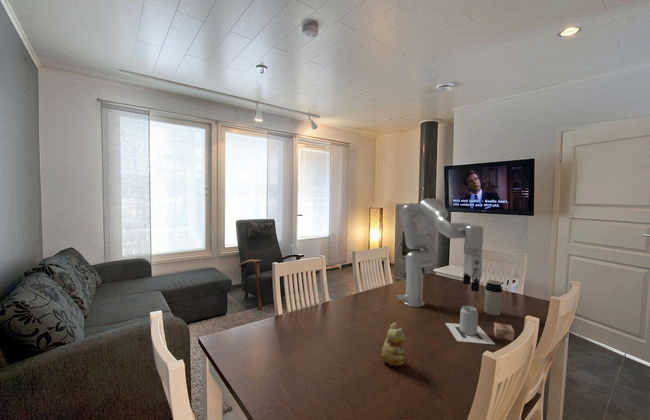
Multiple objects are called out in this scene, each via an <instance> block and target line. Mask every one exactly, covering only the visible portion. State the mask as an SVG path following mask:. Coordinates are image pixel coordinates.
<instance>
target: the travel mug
mask: <svg viewBox="0 0 650 420" xmlns="http://www.w3.org/2000/svg"><path fill="white" fill-rule="evenodd" d="M502 284H503V282H502V281H499V280H495V279H487V280H486V285H485V289H484V290H485V291H484V294H485V295H484V304H483V305H484V306H483V307H484V308H483V311H484V312H485V314H488V315H490V316H495V317H496V316H500V315H501V312H502V300H503V299H502V297H503V287H502Z"/></svg>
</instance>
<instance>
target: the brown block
mask: <svg viewBox="0 0 650 420" xmlns="http://www.w3.org/2000/svg"><path fill="white" fill-rule="evenodd" d="M493 334H494V337H495V338H496V339H500V340H505V341H509V342H514V341H515V340H514V339H515V330H514V328H513V326H512V324H505V323H499V322H494V323H493ZM513 340H514V341H513Z"/></svg>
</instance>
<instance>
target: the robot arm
mask: <svg viewBox="0 0 650 420" xmlns="http://www.w3.org/2000/svg"><path fill="white" fill-rule="evenodd" d="M448 216H449V211H448V210H447V209H446V204H445V202H444V200H442V199H440V198H424V199H422V200H421V201H420V202H419V203H409V204H405V205H403V207H402V208H401V210H400V219H401V223H402V226H403V234H404V239H405V244H406V247H407V248H408V249H410V250H415V251H410V252H408V253H406V255H405V259H404V260H405V267H406V275H405V277H406V279H405V293H404V294H403V295H401V294H398V295H397V299H400V300H402V303H403V304H404V305H405V306H409V307H413V308H422V307H424V306H425V301H424V300H423V285H424V273H423V271H422V269H421V268H424V267H431V266H433V265H434V262H435V254H434V248H433V247H434V246H433V242H432V237H431V236H430V234H428V233H426V232H419V230H420V229H419V224H418V223H417V222H416V220H415V219H426V218H427V219H428V218H430V219H431V220H432V221H433V222H434V226H435V228H436V230H437V231H438V232H439V233H440V234H441V235H443V236H444V237H446V238H447V239H454V240H455V239H464V241H463V242H464V243H463V255H464V257H463V258H464V259H463V270H462V271H463V274H462V275H463V278H462V279H463V281H462V283H463V285H470V291H472V292H479V291H480V282H481V278H482V276H483V264H482V263H483V261H482V255H483V243H484V242H483V241H484V227H483V226H481V225H477V224H470V223H467V222H450V221H449V220H447V218H448ZM418 249H419V250H418Z"/></svg>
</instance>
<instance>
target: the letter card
mask: <svg viewBox="0 0 650 420" xmlns="http://www.w3.org/2000/svg"><path fill="white" fill-rule="evenodd" d="M445 325H446V327H447V328H448V329H449V331H450V332H451V334H452V335H453V337H454V339H455V340H456V341H457V342H464V343H474V344H475V343H476V344H486V345H496V343H495V342H494V341H493V340H492V339H491V337H489V335H488V334H487V333H486V332H485V331H484V330H483V329H482V328H481V327H480V325H478V326H477V334H475V335H472V336H471V335H466V334H464V333H462V332H461V331H460V329H459V328H460V323H452V322H451V323H450V322H445Z"/></svg>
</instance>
